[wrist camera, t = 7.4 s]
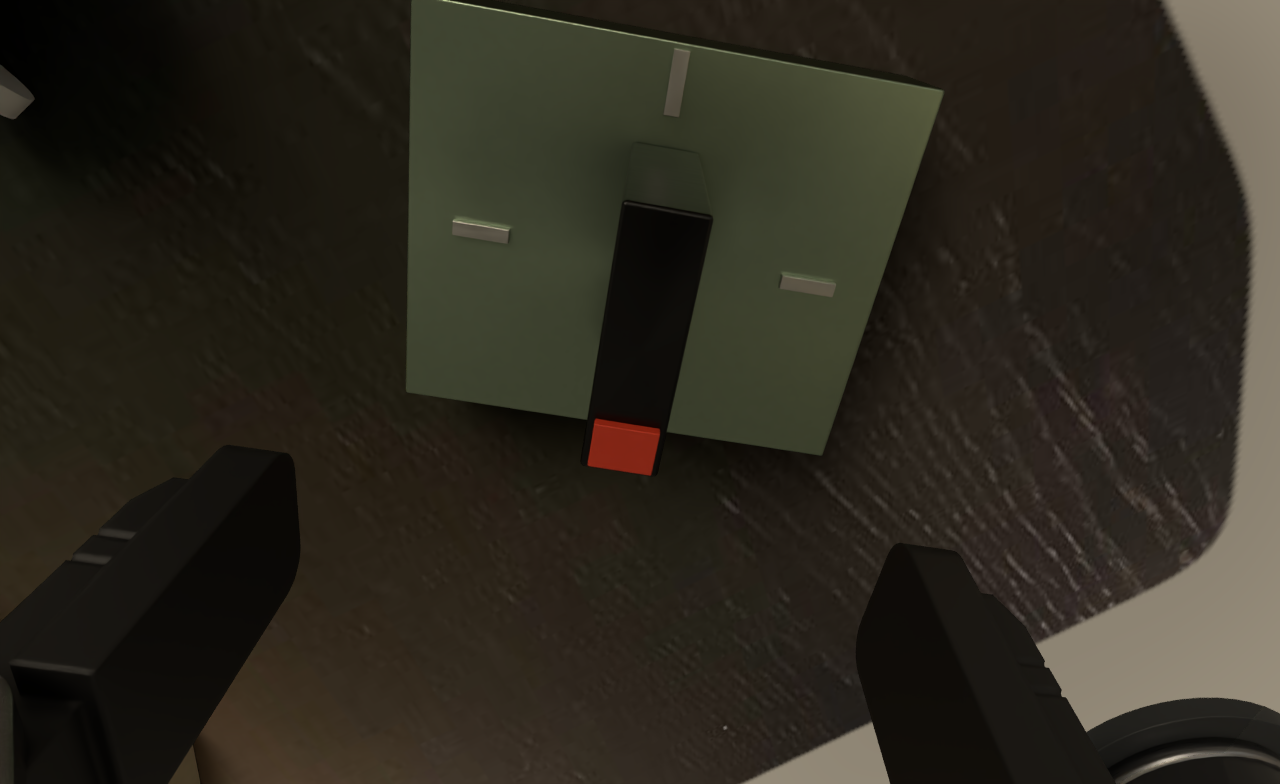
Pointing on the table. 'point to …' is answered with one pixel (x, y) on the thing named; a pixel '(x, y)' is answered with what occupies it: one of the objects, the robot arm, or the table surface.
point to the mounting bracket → (13, 95)
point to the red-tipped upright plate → (647, 308)
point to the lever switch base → (591, 202)
